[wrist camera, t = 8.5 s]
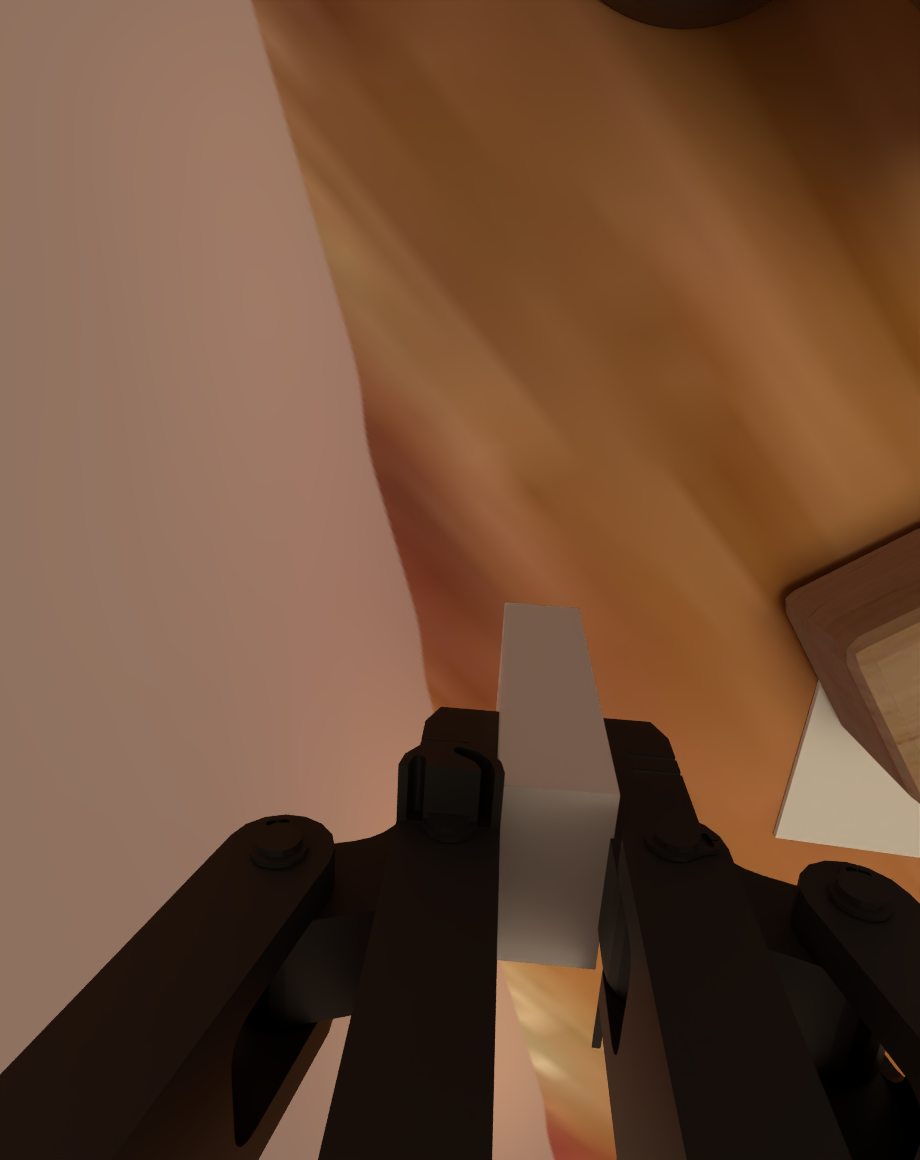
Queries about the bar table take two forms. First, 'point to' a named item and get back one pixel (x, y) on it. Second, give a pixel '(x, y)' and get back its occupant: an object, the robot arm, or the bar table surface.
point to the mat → (844, 792)
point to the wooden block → (870, 651)
